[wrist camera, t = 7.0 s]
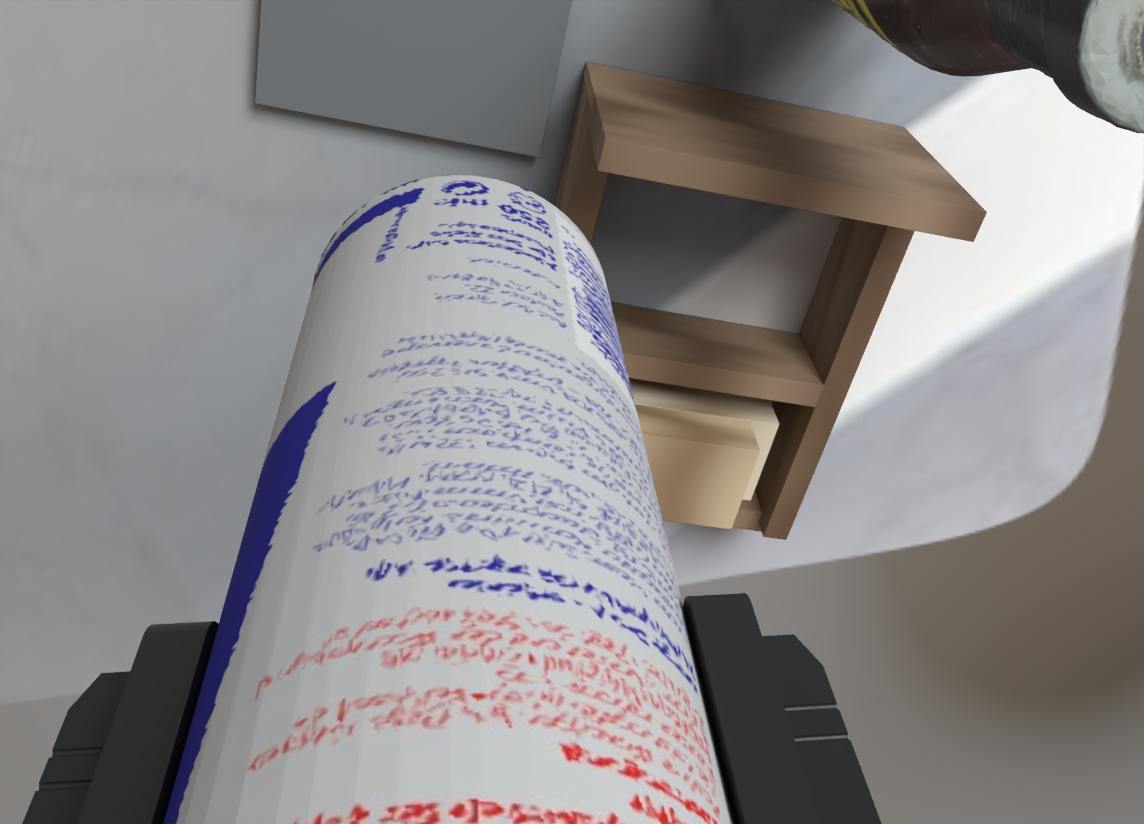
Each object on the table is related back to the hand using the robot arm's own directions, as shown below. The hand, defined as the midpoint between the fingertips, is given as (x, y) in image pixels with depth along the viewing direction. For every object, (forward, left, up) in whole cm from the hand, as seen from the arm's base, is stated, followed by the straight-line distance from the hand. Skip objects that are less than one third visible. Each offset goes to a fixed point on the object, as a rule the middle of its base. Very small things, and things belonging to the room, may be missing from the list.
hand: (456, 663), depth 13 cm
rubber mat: (-2, +2, -29) cm, 29 cm away
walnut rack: (+10, -8, -29) cm, 32 cm away
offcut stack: (+10, -13, -29) cm, 33 cm away
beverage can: (0, 0, -10) cm, 10 cm away
